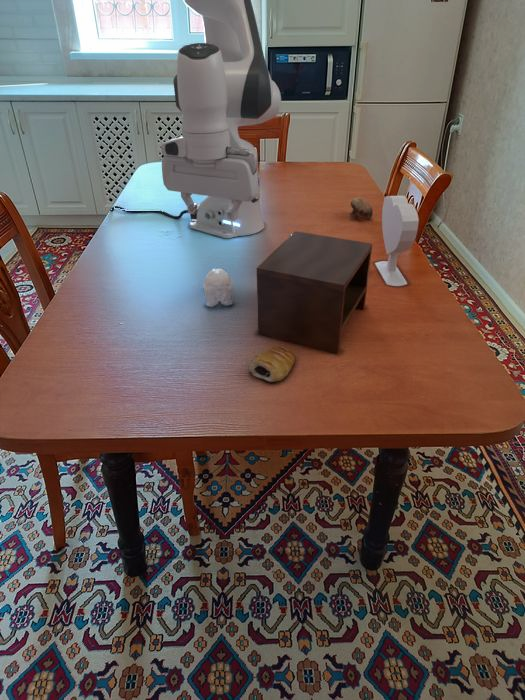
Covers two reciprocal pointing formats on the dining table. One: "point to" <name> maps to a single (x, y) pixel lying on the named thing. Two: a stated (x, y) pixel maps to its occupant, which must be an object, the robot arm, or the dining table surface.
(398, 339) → the dining table surface
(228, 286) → the white figurine
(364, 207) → the mushroom
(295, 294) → the shelf stand
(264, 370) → the pastry
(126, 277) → the dining table surface
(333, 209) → the dining table surface
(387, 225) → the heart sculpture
